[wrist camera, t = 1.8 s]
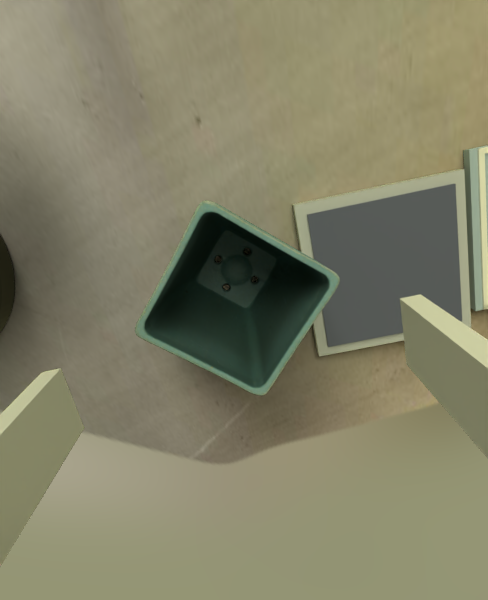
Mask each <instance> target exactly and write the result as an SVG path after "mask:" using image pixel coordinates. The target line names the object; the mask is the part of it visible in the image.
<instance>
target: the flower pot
mask: <svg viewBox="0 0 488 600" xmlns="http://www.w3.org/2000/svg"><path fill="white" fill-rule="evenodd" d="M245 248H249V249H250V251H251V252H250V254H248V255H246V254H244V249H245ZM216 256H220V257H221V259H222V260H221V262H218V263H217V262H215V257H216ZM253 276H256V277H257V278H258V281H257V282H252V280H251V279H252V277H253ZM339 282H340V278H339V276H338V275H337V274H336V273H335V272H334V271H332V270H330V269H329V268H327V267H326V266H324V265H322V264H321V263H319V262H318V261H316V260H314V259H313V258H311V257H309V256H307V255H306V254H304V253H302V252H300V251H298V250H297V249H295V248H293V247H291V246H290V245H288V244H286V243H284V242H283V241H281V240H279V239H277V238H276V237H274V236H272V235H271V234H269V233H267V232H265V231H264V230H262V229H260V228H258V227H257V226H255V225H253V224H251V223H250V222H248V221H246V220H245V219H243V218H241V217H239V216H238V215H236V214H234V213H232V212H231V211H229V210H227V209H226V208H224V207H222V206H220V205H218V204H216V203H214V202H211V201H203V202H201V203H200V204H199V206H198V207H197V209H196V211H195V213H194V215H193V217H192V219H191V221H190V223H189V225H188V227H187V229H186V231H185V233H184V235H183V237H182V239H181V241H180V243H179V245H178V247H177V249H176V251H175V253H174V255H173V257H172V259H171V261H170V263H169V265H168V266H167V268H166V270H165V272H164V274H163V276H162V278H161V280H160V281H159V284H158V285H157V287H156V289H155V291H154V293H153V295H152V296H151V298H150V300H149V302H148V304H147V306H146V307H145V309H144V311H143V313H142V315H141V316H140V318H139V319H138V322H137V324H136V327H135V333H136V335H137V336H138V337H140V338H142V339H144V340H145V341H148V342H149V343H151V344H154V345H156V346H158V347H160V348H162V349H164V350H166V351H168V352H170V353H172V354H175V355H177V356H179V357H181V358H183V359H185V360H187V361H189V362H191V363H193V364H195V365H197V366H199V367H201V368H203V369H206V370H208V371H210V372H211V373H214V374H215V375H217V376H220V377H221V378H223V379H225V380H227V381H229V382H231V383H233V384H235V385H237V386H239V387H241V388H242V389H244V390H246V391H248V392H250V393H252V394H255V395H259V396H263V395H265V394H266V393H267V392H268V391H269V390H270V388H271V387H272V385H273V384H274V382H275V380H276V379H277V378H278V376H279V374H280V373H281V372H282V370H283V368H284V367H285V365H286V364H287V362H288V361H289V359H290V358H291V356H292V355H293V353H294V352H295V350H296V348H297V347H298V345H299V344H300V342H301V341H302V339H303V338H304V337H305V335H306V334H307V332H308V331H309V329H310V327H311V326H312V325H313V323H314V322H315V320H316V319H317V317H318V316H319V314H320V313H321V311H322V310H323V308H324V307H325V305H326V304H327V303H328V301H329V300H330V298H331V297H332V295H333V294H334V292H335V291H336V289H337V287H338V285H339ZM224 284H228V285H229V286H230V288H229V289H228V290H224V289H223V285H224Z"/></svg>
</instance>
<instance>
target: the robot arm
mask: <svg viewBox="0 0 488 600" xmlns="http://www.w3.org/2000/svg"><path fill="white" fill-rule="evenodd" d="M14 295H15V280H14V272H13V267H12V263H11V259H10V256H9V253H8V250H7V248H6V246H5V244H4V242H3V240H2V238H1V236H0V332H1V331H2V329H3V328H4V326H5V324H6V323H7V321H8V318H9V316H10V313H11V310H12V307H13V302H14ZM400 306H401V315H402V325H403V334H404V344H405V353H406V362H407V365H408V367H409V368H410V369H411V370H412V371H413V372H414V374H415V375H416V376H417V377H418V378H419V379H420V381H421V382H422V383H423V384H424V385H425V386H426V387H427V389H428V390H429V391H430V392H431V393H432V394H433V396H434V397H435V398H436V399H437V400H438V401H439V402H440V404H441V405H442V406H443V407H444V408H445V409H446V411H447V412H448V413H449V414H450V415H451V416H452V418H453V419H454V420H455V421H456V422H457V423H458V424H459V425H460V426H461V428H462V429H463V430H464V431H465V433H466V434H467V435H468V436H469V437H470V438H471V439H472V441H473V442H474V443H475V444H476V445H477V446H478V447H479V449H480V450H481V451H482V452H483V453H484V454H485V456H486V457H487V458H488V340H487V339H486V338H484V337H483V336H481V335H480V334H478V333H477V332H475V331H474V330H472V329H471V328H469V327H468V326H466V325H465V324H464V323H462V322H461V321H459V320H458V319H456V318H455V317H453V316H452V315H450V314H449V313H447V312H446V311H444V310H443V309H441V308H440V307H439V306H437V305H436V304H434V303H433V302H431V301H430V300H428V299H427V298H425V297H424V296H422V295H421V294H419V295H414V296H410V297H405V298H400ZM83 429H84V426H83V424H82V421H81V418H80V416H79V413H78V411H77V408H76V406H75V403H74V401H73V398H72V395H71V393H70V390H69V388H68V385H67V383H66V380H65V378H64V375H63V372H62V370H61V368H60V369H55V370H50V371H45V372H42V373H41V374H40V375H39V376H38V377H37V378H36V379H35V380H34V381H33V382H32V383H31V384H30V385H29V386H28V387H27V388H26V389H25V390H24V391H23V392H22V393H21V394H20V395H19V396H18V397H17V398H16V399H15V400H14V401H13V402H12V403H11V404H10V405H9V406H8V407H7V408H6V409H5V410H4V411H3V412H2V413H1V414H0V566H1V565H2V563H3V561H4V560H5V558H6V557H7V555H8V553H9V552H10V550H11V548H12V546H13V545H14V543H15V542H16V540H17V538H18V537H19V535H20V533H21V532H22V530H23V528H24V526H25V525H26V524H27V522H28V520H29V519H30V517H31V515H32V514H33V512H34V510H35V509H36V507H37V505H38V504H39V502H40V500H41V499H42V497H43V495H44V494H45V492H46V490H47V489H48V487H49V485H50V484H51V482H52V480H53V479H54V477H55V476H56V474H57V472H58V470H59V469H60V467H61V466H62V464H63V462H64V461H65V459H66V457H67V456H68V454H69V452H70V451H71V449H72V447H73V446H74V444H75V442H76V441H77V439H78V437H79V436H80V434H81V433H82V431H83Z"/></svg>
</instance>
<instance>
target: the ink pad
mask: <svg viewBox="0 0 488 600" xmlns="http://www.w3.org/2000/svg"><path fill="white" fill-rule="evenodd" d="M292 207H293V213H294V219H295V224H296V230H297V236H298V242H299V248H300V252H302V253H304V254H306V255H307V256H309V257H311V258H313V259H314V260H316V261H318V262H319V263H321V264H322V265H324V266H326V267H327V268H329V269H330V270H332V271H334V272H335V273H336V274H337V275H338V276H339V278H340V282H339V285H338V287H337V289H336V291H335V292H334V294H333V295H332V297H331V298H330V300H329V301H328V303H327V304H326V305H325V307H324V308H323V310H322V311H321V313H320V314H319V316H318V317H317V319H316V320H315V322H314V323H313V331H314V337H315V343H316V349H317V353H318V355H319V356H325V355H330V354H335V353H340V352H346V351H351V350H356V349H361V348H366V347H372V346H377V345H382V344H387V343H392V342H398V341H403V340H404V334H403V325H402V315H401V306H400V298H405V297H410V296H414V295H419V294H421V295H422V296H424V297H425V298H427V299H428V300H430V301H431V302H433V303H434V304H436V305H437V306H439V307H440V308H441V309H443V310H444V311H446V312H447V313H449V314H450V315H452V316H453V317H455V318H456V319H458V320H459V321H461V322H462V323H464V324H465V325H466V326H468V327H469V328H471V311H470V288H469V265H468V242H467V219H466V196H465V173H464V169H456V170H452V171H447V172H442V173H438V174H433V175H428V176H423V177H419V178H414V179H409V180H405V181H400V182H395V183H391V184H386V185H381V186H376V187H372V188H367V189H362V190H358V191H353V192H348V193H343V194H339V195H334V196H329V197H325V198H320V199H315V200H311V201H306V202H301V203H296V204H292Z"/></svg>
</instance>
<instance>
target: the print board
mask: <svg viewBox="0 0 488 600" xmlns="http://www.w3.org/2000/svg"><path fill="white" fill-rule="evenodd" d="M463 155H464V173H465V196H466V219H467V242H468V265H469V288H470V308H471V309H473V310H475V311H479V310H485V309H488V145H486V146H481V147H477V148H472V149H468V150H463Z"/></svg>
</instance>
